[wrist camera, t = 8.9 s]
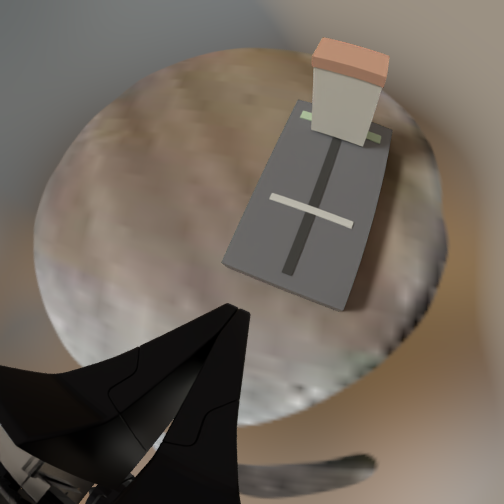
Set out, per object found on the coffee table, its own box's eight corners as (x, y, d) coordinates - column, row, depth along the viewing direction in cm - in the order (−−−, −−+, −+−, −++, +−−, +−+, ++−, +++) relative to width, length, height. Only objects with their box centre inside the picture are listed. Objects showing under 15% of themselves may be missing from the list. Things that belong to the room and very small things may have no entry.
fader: (363, 147, 22) (386, 77, 13) (309, 130, 23) (312, 56, 15) (369, 124, 22) (389, 56, 14) (318, 108, 23) (322, 37, 15)
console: (338, 311, 21) (343, 310, 19) (227, 267, 23) (220, 262, 21) (387, 141, 24) (392, 129, 22) (298, 112, 26) (298, 98, 24)
